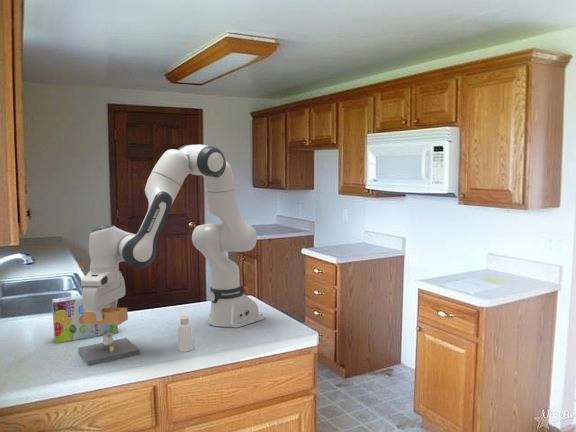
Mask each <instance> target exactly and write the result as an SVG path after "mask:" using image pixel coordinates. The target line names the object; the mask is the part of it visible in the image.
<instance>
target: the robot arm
mask: <svg viewBox="0 0 576 432" xmlns="http://www.w3.org/2000/svg"><path fill="white" fill-rule="evenodd" d="M189 174H191V175H194V176H203V178H204V181H205V198H206V199H205V200H206V207H207V210H208V212H209V213H210V214H211V215H212V216H215V217H217V218H218V219H219V220H220V221H221V223H203V224H200V225H197V226H196V227H195V228H194V229H193V231H192V235H191V242H192V245H193V246H194V247H195V249H197V250H198V252H200V253H201V254H202V255H203V257H205V259H206V261H207V263H208V266H209V270H210V278H211V280H210V283H211V284H210V285H211V286H210V294H209V295H210V302H211V303H210V312H209V318H208V321H207V322H208V323H207V324H209V325H211V326H214V327H219V328H220V327H222V328H223V327H224V328H226V327H227V328H240V327H244V326H247V325H249V324H253V323H256V322H258V321H262V320H264V319H265V315H264V313H262V312H260V311H259V305H258V303H257V302H256V301H255V300H254V299H252V298H250V297H249V296H247V294H245V293H248V292H249V287H248V286H245V285H244V286H243V285H241V284H240V282H241V281H240V267H239V265H238V264H237V263H236V262H235V261H233V260H231V259H229V257H227V254H226V253H228V252H229V253H242V252H249V251H252V250H253V249H254V248H255V247H256V245H257V241H258V234H257V231H256V229H255V228H254V227H253V226H252V225H250V224H249V223H248V222H247V221H246V220H245V219H244V218H243V216H242V215H241V213H240V211H239V208H238V204H237V203H238V202H237V197H236V188H235V187H236V186H235V185H236V184H235V177H234V174H233V170H232V166H231V164H230V163H229V162H228V161H227V160H226V158H225V155H224V154H223V151H222V150H221V149H219V148H218V147H215V146H213V145H205V144H200V143H199V144H189V143H188V144H184V145H181V146H180V147H178V148H177V149H175V148H174V149H173V148H171V149H167V150H166V151H165V152H164V153H163V154H161V156H160V158H159V159H158V161H157V162H156V163H155V165H154V167H153V169H152V170H151V173H150V174H149V177H148V178H147V180H146V181H147V182H146V184H145V188H144V193H145V196H146V198H147V202H148V208H147V212H146V215H145V217H144V219H143V221H142V223H141V225H140V227H139V229H138V232H137V233H133V232H132V233H131V232H128V231H125V230H122V229H120V228H118V227H116V226H115V224H114V225H113V224H104V225H101V226H97V227H94V228H93V229H92V230H91V231H90V233H89V240H88V254H89V255H88V256H89V258H90V264H89V271H88V272H87V274H85V276H84V277H82V279H81V280H80V285H81V286H82V287H83V288H82V294H81V295H82V300H83V307H84V309H85V310H86V311H94V312H95V314H96V318H97V321H101V320H103V319H104V314H102V312H101V310H102V307H103V306H105V305H107V304H109V303H111V304H110V307H116V306H117V305H118V301H119V299H121V298H123V297H125V295H126V284H125V278H124V276H123V274H122V272H121V271H120V267H119V266H120V265H119V264H120V263H122V262H123V263H124V262H125V263H126V264H127V266H129V267H131V268H134V269H143V268H147V267H148V266H150V265H151V264H152V263H153V262H154V260H155V258H156V255H157V254H156V253H157V243H158V239H159V237H160V234H161V232H162V229H163V227H164V225H165V223H166V220H167V218H168V215H169V212H170V210H171V208H172V205H173V203H174V201H175V199H176V197H177V195H178V193H179V191H180V189H181V187H182V186H183V183H184V181H185V179H186V178H187V176H188V175H189ZM117 307H118V306H117Z"/></svg>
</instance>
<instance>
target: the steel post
mask: <svg viewBox="0 0 576 432" xmlns="http://www.w3.org/2000/svg"><path fill="white" fill-rule="evenodd" d="M113 334H114V333H110V332H109V333H104V334H103V335H102V343H103V347H104V350H110V346H113V340H114V337H113V336H114V335H113Z"/></svg>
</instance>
